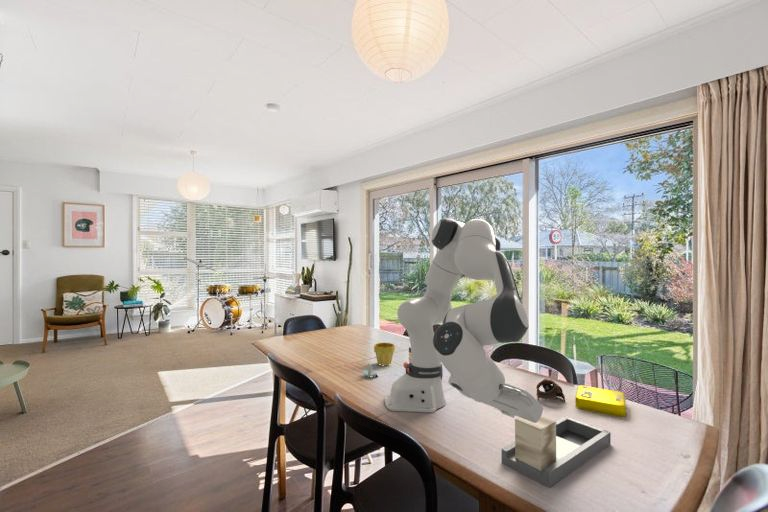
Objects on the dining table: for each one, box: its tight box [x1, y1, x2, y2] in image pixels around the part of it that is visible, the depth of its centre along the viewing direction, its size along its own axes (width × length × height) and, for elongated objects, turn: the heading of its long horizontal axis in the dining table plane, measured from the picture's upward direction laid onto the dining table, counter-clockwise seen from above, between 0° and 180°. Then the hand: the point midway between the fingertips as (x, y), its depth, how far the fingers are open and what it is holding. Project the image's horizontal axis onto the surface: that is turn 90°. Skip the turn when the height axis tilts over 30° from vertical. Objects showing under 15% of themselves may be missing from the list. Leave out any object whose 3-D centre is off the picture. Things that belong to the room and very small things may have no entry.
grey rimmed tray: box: [500, 415, 612, 489], centre depth 98 cm, size 32×13×4 cm, turn 126°
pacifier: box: [362, 363, 378, 378], centre depth 162 cm, size 7×6×6 cm
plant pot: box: [373, 342, 396, 366], centre depth 180 cm, size 10×10×10 cm
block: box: [514, 415, 556, 471], centre depth 91 cm, size 7×7×10 cm
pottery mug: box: [535, 378, 566, 402], centre depth 136 cm, size 12×10×8 cm
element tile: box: [575, 385, 627, 418], centre depth 129 cm, size 15×15×5 cm
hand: (509, 413), depth 84 cm, fingers closed
